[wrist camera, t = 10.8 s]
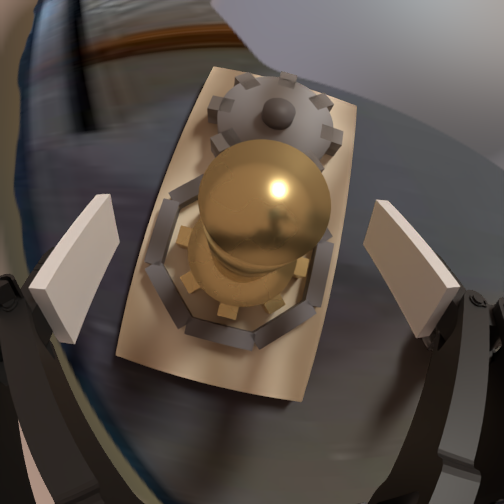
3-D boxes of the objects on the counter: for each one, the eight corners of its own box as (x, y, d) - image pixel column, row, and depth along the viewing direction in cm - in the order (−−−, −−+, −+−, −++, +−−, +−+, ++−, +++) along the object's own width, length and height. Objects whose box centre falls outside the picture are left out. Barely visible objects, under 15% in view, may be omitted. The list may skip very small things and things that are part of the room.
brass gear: (311, 214, 21) (397, 132, 9) (285, 329, 20) (366, 369, 8) (199, 184, 21) (180, 69, 9) (166, 299, 19) (89, 300, 7)
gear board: (351, 114, 25) (369, 87, 20) (296, 395, 20) (313, 416, 16) (213, 76, 24) (213, 44, 20) (122, 351, 20) (99, 363, 15)
